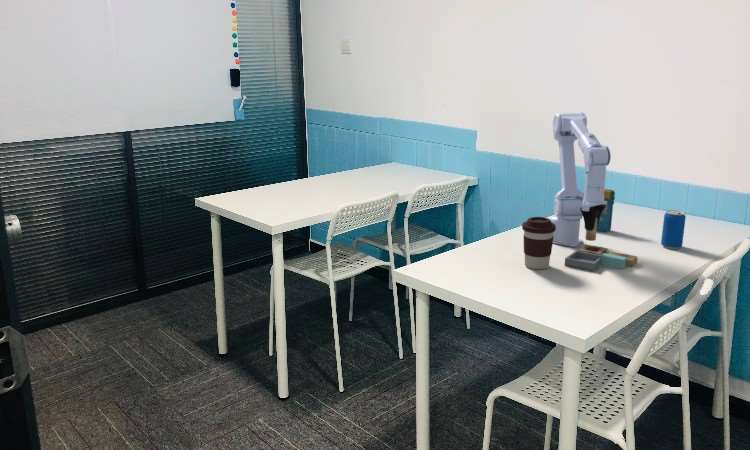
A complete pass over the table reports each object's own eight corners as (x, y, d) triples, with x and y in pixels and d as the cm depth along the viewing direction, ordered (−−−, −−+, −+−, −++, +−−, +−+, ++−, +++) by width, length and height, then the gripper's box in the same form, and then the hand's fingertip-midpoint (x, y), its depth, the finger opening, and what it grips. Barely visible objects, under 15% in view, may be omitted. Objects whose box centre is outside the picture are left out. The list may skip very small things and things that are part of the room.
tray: (564, 265, 202) (565, 258, 201) (575, 257, 209) (575, 250, 208) (593, 271, 197) (594, 263, 196) (603, 263, 204) (604, 255, 203)
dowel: (584, 239, 204) (585, 218, 202) (587, 237, 206) (589, 216, 204) (593, 241, 202) (595, 219, 200) (596, 238, 205) (598, 217, 203)
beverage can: (683, 250, 215) (688, 215, 211) (663, 249, 216) (667, 214, 213) (679, 244, 221) (683, 210, 217) (658, 243, 222) (662, 209, 219)
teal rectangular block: (599, 264, 202) (600, 255, 202) (602, 262, 205) (603, 253, 204) (622, 269, 198) (623, 259, 198) (625, 266, 201) (626, 257, 200)
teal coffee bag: (612, 230, 238) (615, 190, 234) (609, 233, 234) (613, 192, 230) (585, 226, 243) (588, 187, 239) (582, 229, 239) (585, 189, 235)
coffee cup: (554, 262, 205) (557, 216, 201) (551, 272, 196) (554, 225, 192) (522, 259, 208) (524, 214, 204) (518, 269, 199) (520, 222, 195)
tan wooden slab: (605, 263, 205) (606, 255, 204) (610, 259, 209) (611, 251, 208) (631, 268, 200) (632, 260, 199) (636, 263, 204) (637, 256, 203)
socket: (577, 257, 209) (578, 250, 209) (585, 251, 215) (586, 244, 214) (599, 261, 205) (600, 254, 205) (607, 255, 211) (607, 248, 210)
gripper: (599, 192, 192) (596, 236, 195) (615, 183, 203) (611, 225, 207) (576, 189, 196) (573, 232, 199) (592, 180, 207) (589, 222, 211)
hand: (591, 228), depth 203 cm, fingers closed on dowel, 3 cm apart
